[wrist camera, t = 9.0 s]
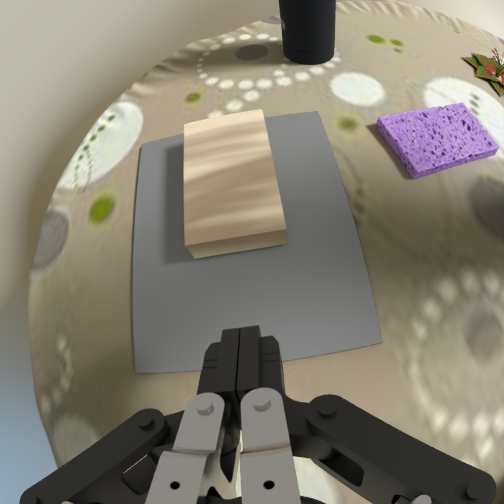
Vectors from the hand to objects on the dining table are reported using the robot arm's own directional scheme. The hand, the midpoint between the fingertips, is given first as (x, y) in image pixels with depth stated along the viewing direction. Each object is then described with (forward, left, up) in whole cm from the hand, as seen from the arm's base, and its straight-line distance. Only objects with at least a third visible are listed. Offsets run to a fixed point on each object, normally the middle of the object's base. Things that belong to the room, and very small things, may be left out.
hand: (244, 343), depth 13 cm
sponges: (-26, +5, -10) cm, 28 cm away
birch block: (-6, -6, -7) cm, 11 cm away
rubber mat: (-8, -7, -9) cm, 14 cm away
